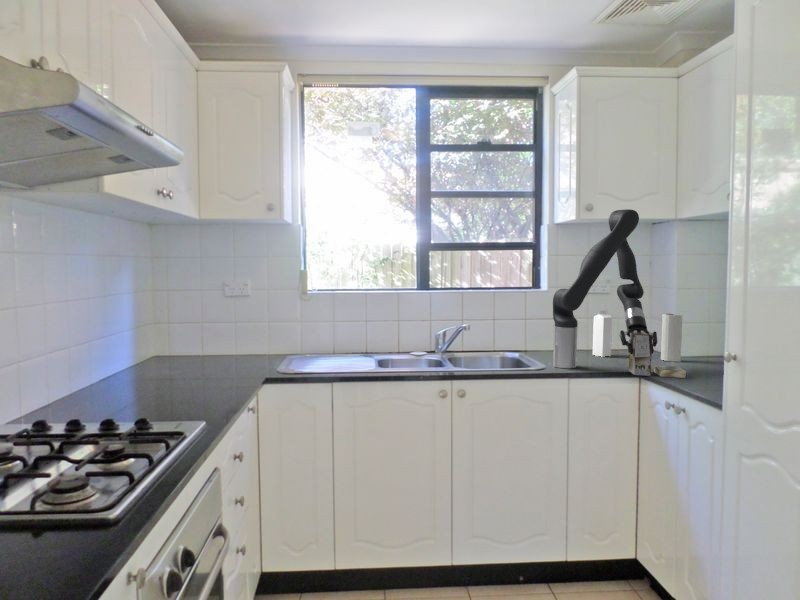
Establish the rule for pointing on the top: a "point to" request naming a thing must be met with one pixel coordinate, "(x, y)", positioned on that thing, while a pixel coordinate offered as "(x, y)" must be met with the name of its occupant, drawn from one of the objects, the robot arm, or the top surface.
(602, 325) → the milk
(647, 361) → the coffee box
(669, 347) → the paper towel roll
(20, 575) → the top surface
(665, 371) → the podium
